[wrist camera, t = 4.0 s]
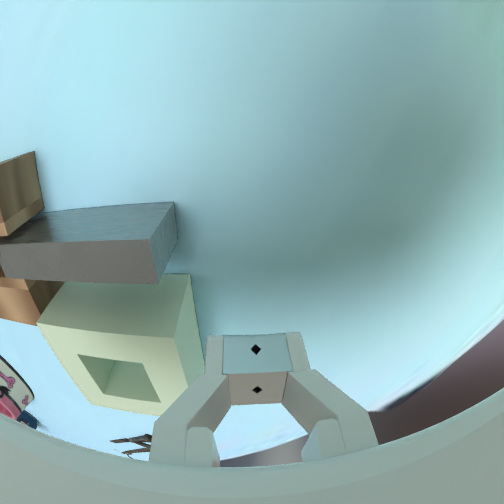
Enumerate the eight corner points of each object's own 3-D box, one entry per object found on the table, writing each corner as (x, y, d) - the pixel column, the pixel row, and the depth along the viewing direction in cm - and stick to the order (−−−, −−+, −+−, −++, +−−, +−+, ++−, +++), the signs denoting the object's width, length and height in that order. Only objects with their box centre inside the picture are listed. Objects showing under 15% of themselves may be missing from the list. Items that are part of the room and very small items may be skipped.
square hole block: (189, 274, 19) (173, 337, 14) (204, 363, 24) (199, 419, 18) (72, 272, 18) (35, 322, 13) (108, 355, 23) (90, 403, 18)
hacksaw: (150, 430, 34) (148, 438, 32) (197, 450, 38) (196, 457, 37) (91, 440, 40) (89, 446, 39) (128, 458, 45) (127, 463, 43)
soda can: (35, 423, 40) (23, 460, 29) (13, 407, 37) (-1, 443, 26) (41, 421, 38) (27, 461, 27) (17, 403, 35) (1, 443, 25)
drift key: (173, 201, 16) (149, 239, 12) (177, 238, 17) (158, 284, 13) (32, 214, 16) (-7, 245, 11) (41, 243, 17) (6, 277, 13)
